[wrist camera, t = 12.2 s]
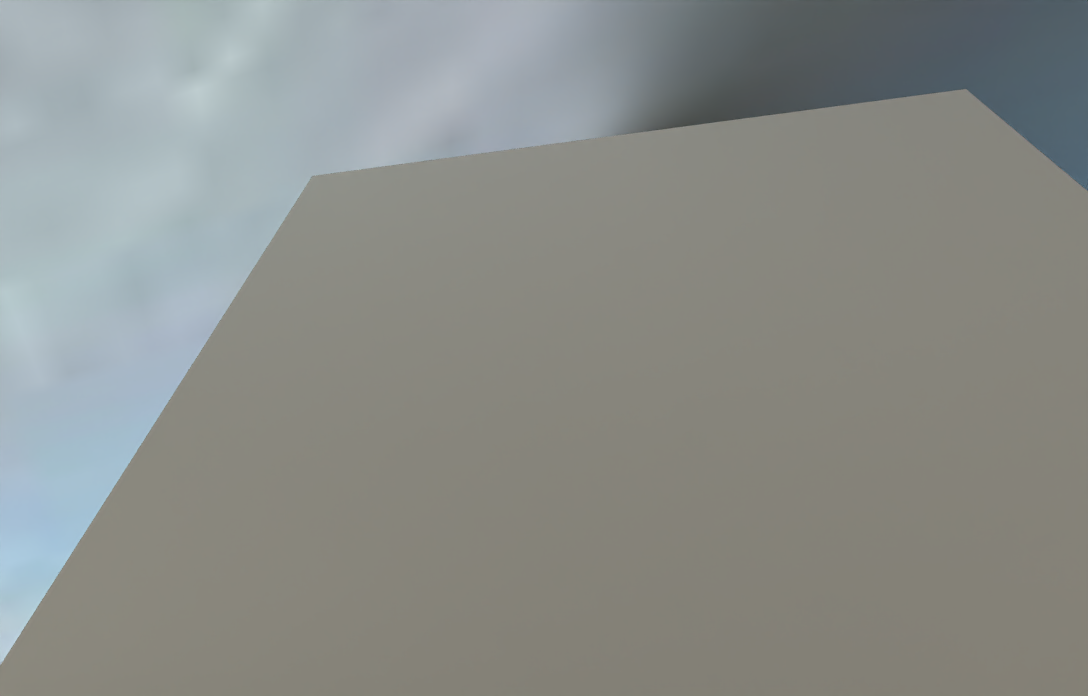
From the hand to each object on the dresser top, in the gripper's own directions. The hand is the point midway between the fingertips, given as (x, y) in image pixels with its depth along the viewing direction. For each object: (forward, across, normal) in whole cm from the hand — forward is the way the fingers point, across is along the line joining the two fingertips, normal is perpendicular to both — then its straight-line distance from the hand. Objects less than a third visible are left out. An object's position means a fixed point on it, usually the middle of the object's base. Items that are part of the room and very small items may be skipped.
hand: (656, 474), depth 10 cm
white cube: (+2, 0, 0) cm, 2 cm away
